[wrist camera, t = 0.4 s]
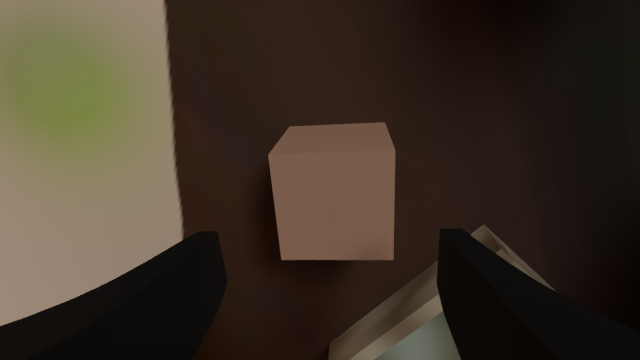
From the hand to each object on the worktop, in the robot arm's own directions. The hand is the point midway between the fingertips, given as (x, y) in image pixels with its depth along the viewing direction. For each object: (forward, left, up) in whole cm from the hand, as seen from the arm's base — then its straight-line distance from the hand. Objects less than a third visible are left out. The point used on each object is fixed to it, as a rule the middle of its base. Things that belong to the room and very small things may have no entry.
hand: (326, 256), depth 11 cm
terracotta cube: (0, 0, -8) cm, 9 cm away
